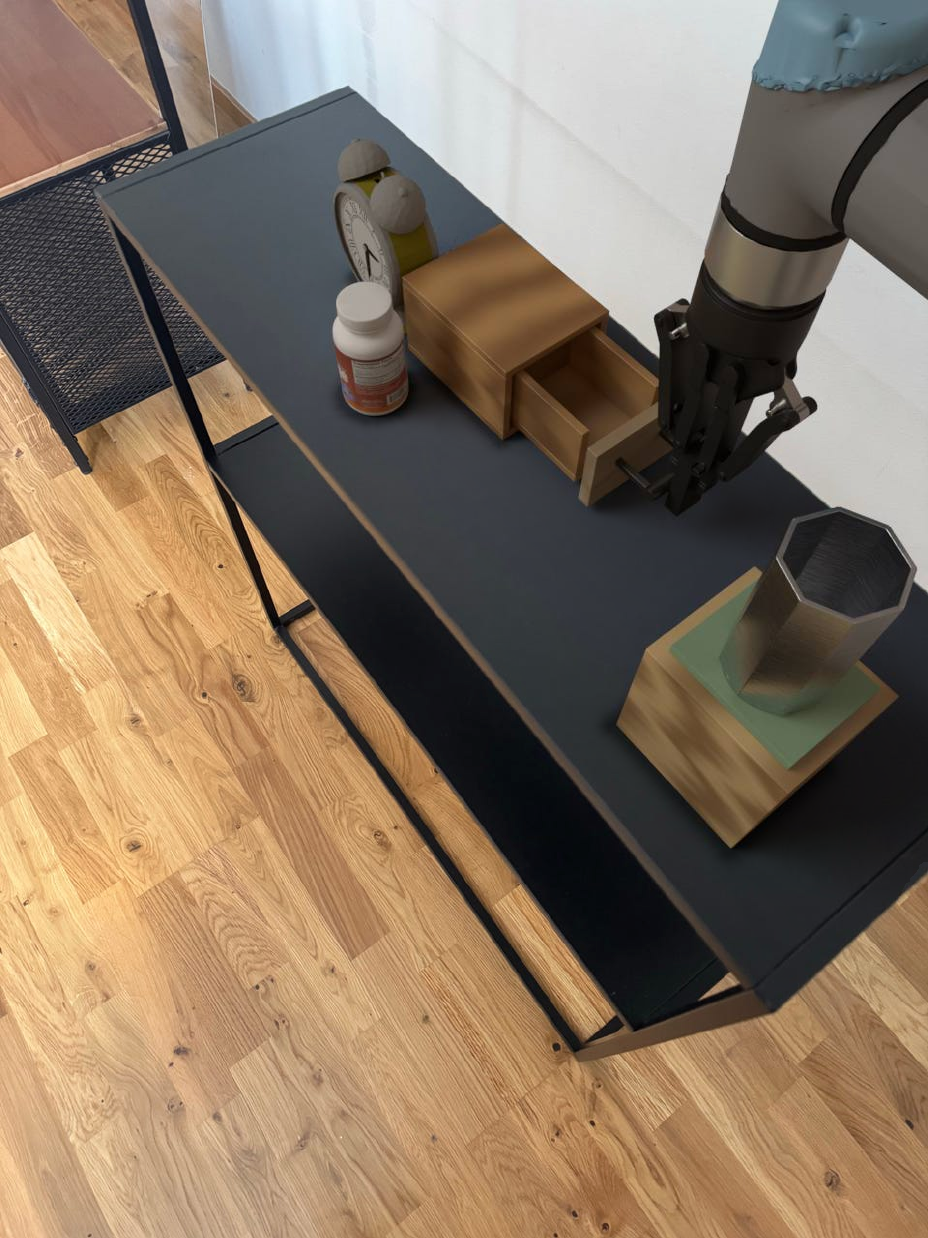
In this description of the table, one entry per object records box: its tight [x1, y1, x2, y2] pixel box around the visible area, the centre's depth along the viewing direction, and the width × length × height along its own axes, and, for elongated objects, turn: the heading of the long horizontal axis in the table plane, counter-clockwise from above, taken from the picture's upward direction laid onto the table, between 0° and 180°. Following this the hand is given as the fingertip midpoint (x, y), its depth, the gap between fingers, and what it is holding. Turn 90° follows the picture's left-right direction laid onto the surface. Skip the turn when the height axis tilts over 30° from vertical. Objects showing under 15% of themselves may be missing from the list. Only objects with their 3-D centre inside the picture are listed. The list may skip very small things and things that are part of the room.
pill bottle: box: [332, 281, 409, 417], centre depth 78 cm, size 6×6×11 cm
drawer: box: [510, 326, 676, 508], centre depth 76 cm, size 18×10×7 cm, turn 38°
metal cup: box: [719, 505, 918, 715], centre depth 49 cm, size 6×6×12 cm
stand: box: [615, 566, 900, 849], centre depth 61 cm, size 12×10×13 cm
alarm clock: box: [332, 137, 440, 335], centre depth 83 cm, size 12×7×15 cm, turn 33°
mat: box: [669, 578, 881, 770], centre depth 55 cm, size 10×8×1 cm
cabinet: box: [402, 222, 610, 441], centre depth 81 cm, size 15×12×9 cm
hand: (681, 502), depth 73 cm, fingers closed
